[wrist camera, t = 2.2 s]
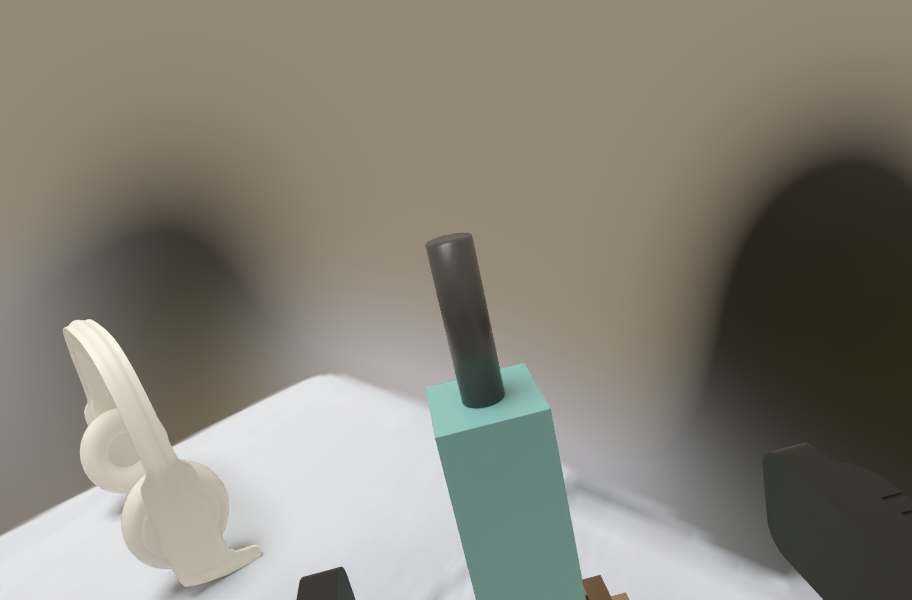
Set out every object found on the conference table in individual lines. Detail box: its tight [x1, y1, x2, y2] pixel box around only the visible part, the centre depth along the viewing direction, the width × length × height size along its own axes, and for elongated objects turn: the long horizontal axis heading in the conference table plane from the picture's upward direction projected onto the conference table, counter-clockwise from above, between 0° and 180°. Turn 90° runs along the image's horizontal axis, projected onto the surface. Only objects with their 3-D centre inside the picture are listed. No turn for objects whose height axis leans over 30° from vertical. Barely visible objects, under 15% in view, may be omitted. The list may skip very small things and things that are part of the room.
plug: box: [426, 233, 586, 600], centre depth 25 cm, size 4×4×22 cm
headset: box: [63, 319, 262, 587], centre depth 47 cm, size 20×7×18 cm, turn 42°
